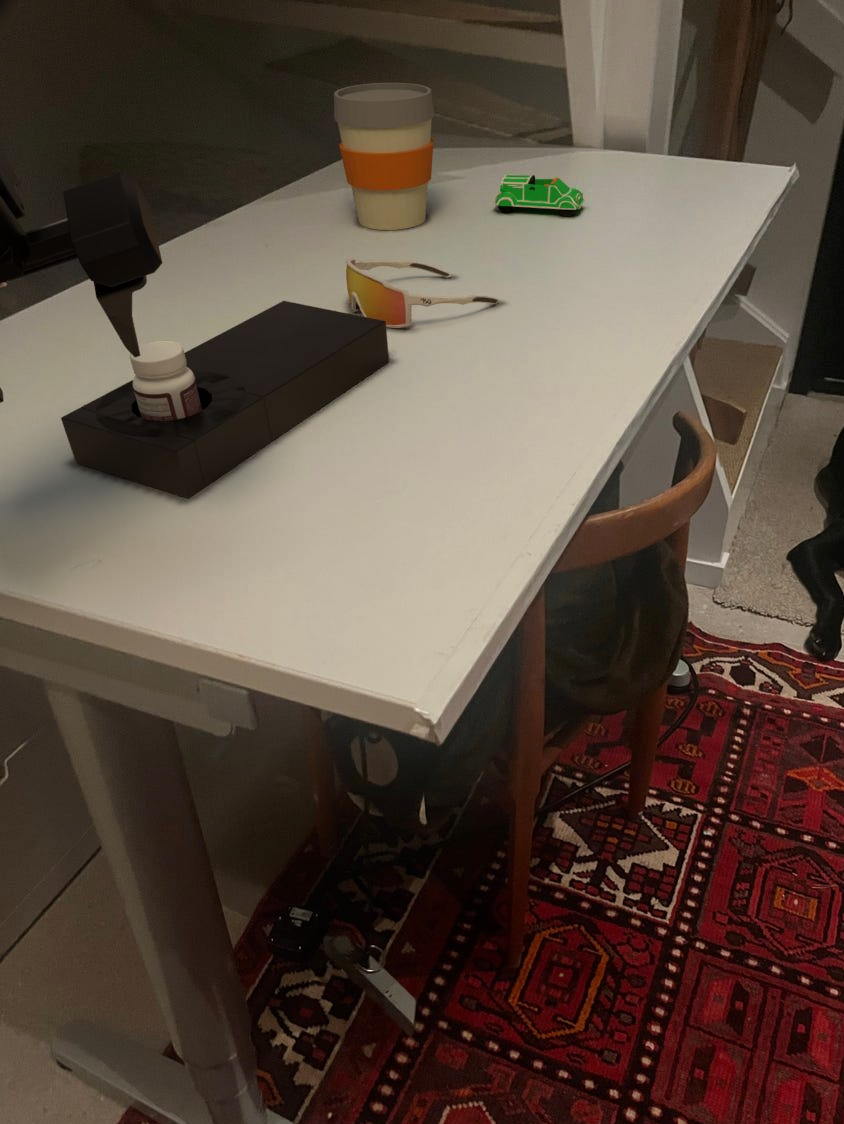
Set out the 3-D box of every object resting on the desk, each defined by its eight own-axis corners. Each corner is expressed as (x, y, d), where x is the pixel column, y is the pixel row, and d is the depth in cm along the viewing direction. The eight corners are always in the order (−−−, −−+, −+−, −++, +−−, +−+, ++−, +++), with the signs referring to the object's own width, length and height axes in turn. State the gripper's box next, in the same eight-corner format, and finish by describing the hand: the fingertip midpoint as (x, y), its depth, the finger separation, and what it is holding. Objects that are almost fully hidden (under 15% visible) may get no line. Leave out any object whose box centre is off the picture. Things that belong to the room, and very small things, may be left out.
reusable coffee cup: (346, 236, 119) (332, 104, 109) (344, 209, 128) (331, 84, 119) (443, 231, 120) (437, 99, 110) (434, 204, 129) (428, 80, 120)
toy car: (491, 213, 126) (490, 178, 123) (500, 202, 129) (500, 168, 127) (578, 218, 123) (579, 182, 120) (584, 207, 127) (586, 172, 124)
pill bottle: (195, 429, 79) (172, 333, 73) (219, 450, 76) (198, 351, 70) (141, 446, 77) (114, 348, 71) (164, 469, 74) (138, 368, 68)
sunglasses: (323, 297, 102) (323, 250, 99) (440, 289, 109) (444, 245, 106) (384, 339, 92) (386, 288, 90) (507, 327, 100) (513, 280, 97)
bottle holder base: (188, 498, 70) (176, 451, 68) (75, 463, 75) (60, 417, 72) (389, 361, 89) (386, 320, 86) (289, 339, 93) (283, 300, 91)
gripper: (67, 11, 50) (187, 248, 63) (-268, 120, 49) (-73, 335, 63) (89, 133, 44) (214, 362, 58) (-284, 256, 44) (-69, 457, 58)
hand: (68, 374), depth 60 cm, fingers open, 9 cm apart
